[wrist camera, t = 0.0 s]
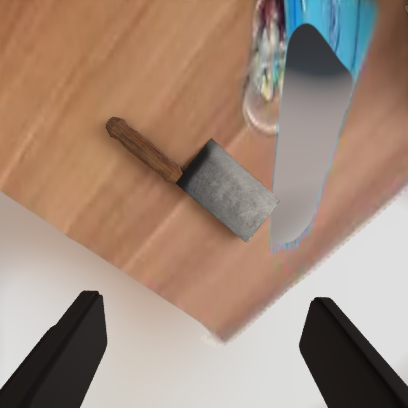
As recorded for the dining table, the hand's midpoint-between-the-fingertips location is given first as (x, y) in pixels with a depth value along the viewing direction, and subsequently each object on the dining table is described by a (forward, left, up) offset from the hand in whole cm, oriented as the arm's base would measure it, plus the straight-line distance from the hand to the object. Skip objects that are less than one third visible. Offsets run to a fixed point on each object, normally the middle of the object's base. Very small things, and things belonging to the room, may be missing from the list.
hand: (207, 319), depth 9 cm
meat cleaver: (-3, 0, -31) cm, 32 cm away
